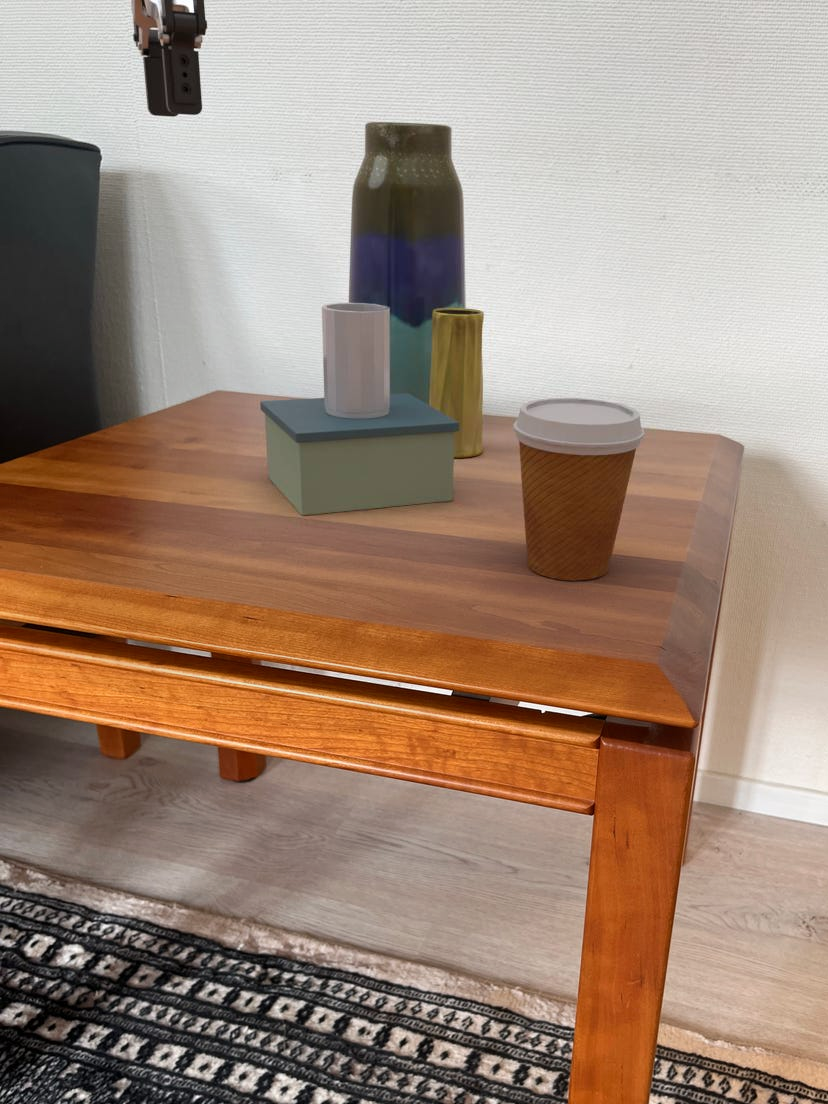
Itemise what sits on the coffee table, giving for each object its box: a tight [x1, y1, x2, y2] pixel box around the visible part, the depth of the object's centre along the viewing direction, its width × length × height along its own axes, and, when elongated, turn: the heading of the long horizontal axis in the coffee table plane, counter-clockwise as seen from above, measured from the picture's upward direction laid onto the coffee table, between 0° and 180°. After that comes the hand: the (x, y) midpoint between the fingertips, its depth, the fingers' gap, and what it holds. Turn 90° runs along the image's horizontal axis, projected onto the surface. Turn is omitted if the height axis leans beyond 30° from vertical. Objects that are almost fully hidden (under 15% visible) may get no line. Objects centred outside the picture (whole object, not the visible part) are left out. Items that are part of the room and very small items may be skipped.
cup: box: [321, 302, 390, 419], centre depth 90 cm, size 6×6×9 cm
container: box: [259, 393, 459, 517], centre depth 93 cm, size 15×13×7 cm
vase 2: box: [429, 307, 485, 459], centre depth 105 cm, size 6×6×14 cm
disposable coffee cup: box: [512, 397, 646, 581], centre depth 76 cm, size 10×10×12 cm
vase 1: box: [348, 121, 467, 405], centre depth 116 cm, size 14×14×31 cm
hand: (174, 115), depth 71 cm, fingers open, 8 cm apart
